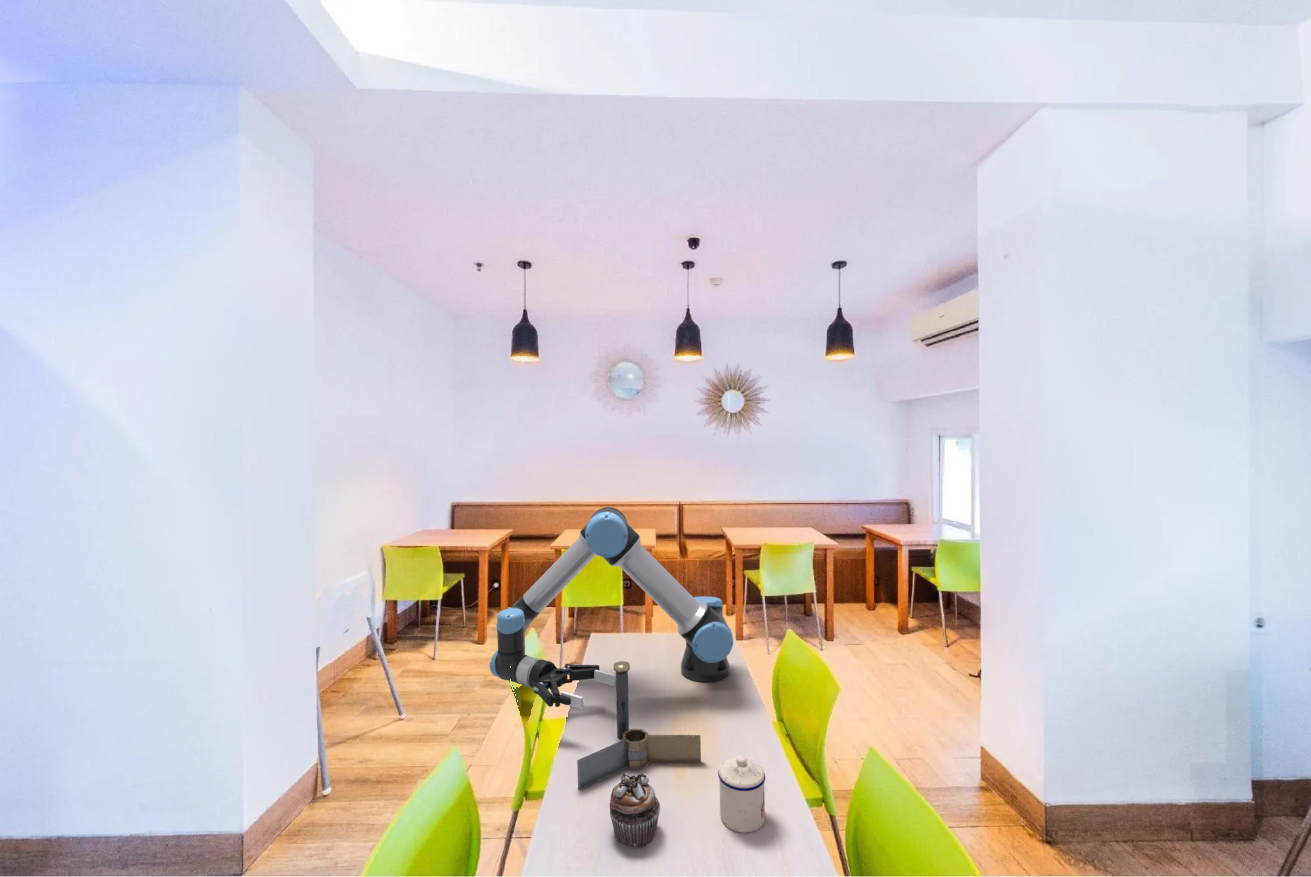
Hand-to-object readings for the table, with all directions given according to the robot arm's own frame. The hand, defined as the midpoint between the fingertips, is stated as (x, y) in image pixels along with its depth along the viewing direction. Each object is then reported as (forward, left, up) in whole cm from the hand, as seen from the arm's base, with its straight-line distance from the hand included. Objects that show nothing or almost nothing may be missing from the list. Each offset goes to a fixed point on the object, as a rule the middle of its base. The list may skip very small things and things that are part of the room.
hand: (599, 691), depth 136 cm
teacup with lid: (-32, +29, -10) cm, 44 cm away
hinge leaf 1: (-6, +17, -10) cm, 20 cm away
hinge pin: (-6, +3, -10) cm, 12 cm away
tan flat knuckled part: (-16, +13, -10) cm, 23 cm away
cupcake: (-12, +34, -10) cm, 38 cm away
